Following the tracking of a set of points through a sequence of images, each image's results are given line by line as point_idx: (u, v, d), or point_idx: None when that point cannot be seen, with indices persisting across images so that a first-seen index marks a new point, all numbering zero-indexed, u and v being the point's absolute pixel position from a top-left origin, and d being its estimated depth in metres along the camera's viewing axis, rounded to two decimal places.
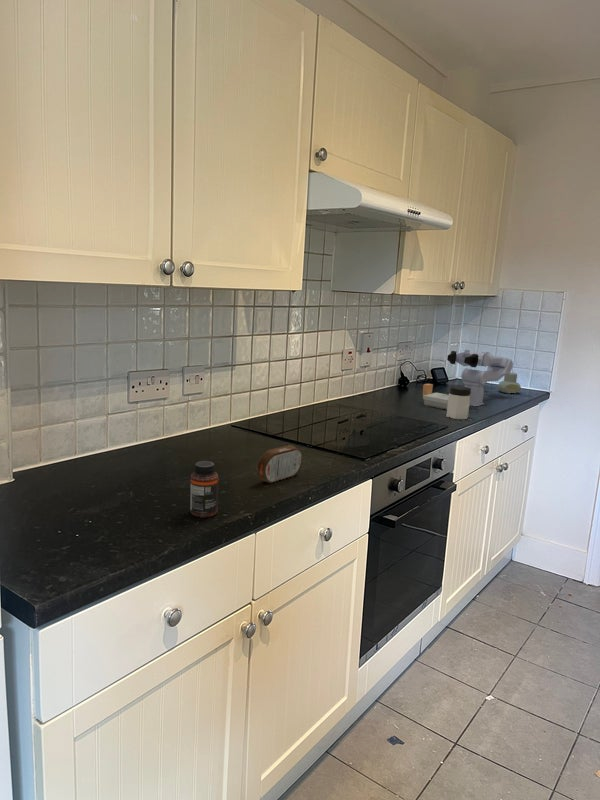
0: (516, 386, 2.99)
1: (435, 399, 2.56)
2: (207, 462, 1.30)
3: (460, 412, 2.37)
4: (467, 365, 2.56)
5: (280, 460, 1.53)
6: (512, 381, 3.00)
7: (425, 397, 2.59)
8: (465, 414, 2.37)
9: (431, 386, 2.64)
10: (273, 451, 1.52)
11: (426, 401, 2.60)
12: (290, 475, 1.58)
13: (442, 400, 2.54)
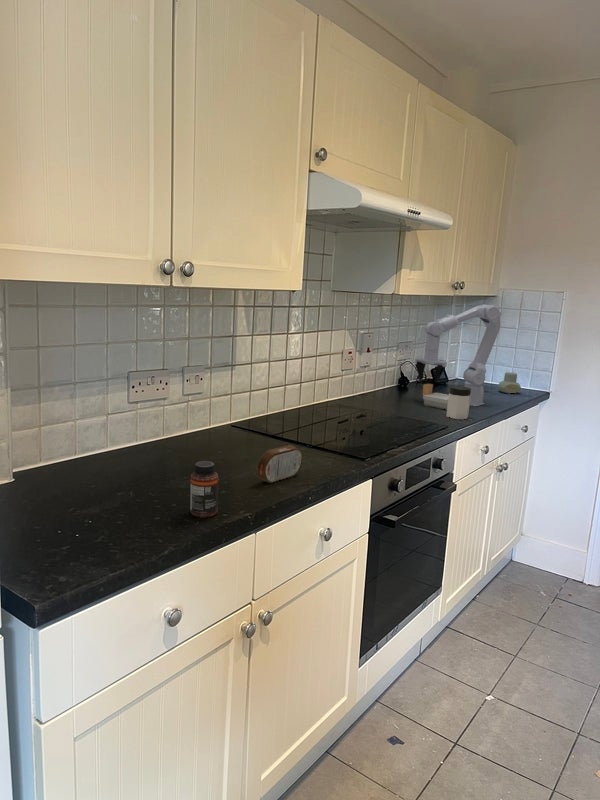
0: (516, 386, 2.99)
1: (435, 399, 2.56)
2: (207, 462, 1.30)
3: (460, 412, 2.37)
4: None
5: (280, 460, 1.53)
6: (512, 381, 3.00)
7: (425, 397, 2.59)
8: (465, 414, 2.37)
9: (431, 386, 2.64)
10: (273, 451, 1.52)
11: (426, 401, 2.60)
12: (290, 475, 1.58)
13: (442, 400, 2.54)
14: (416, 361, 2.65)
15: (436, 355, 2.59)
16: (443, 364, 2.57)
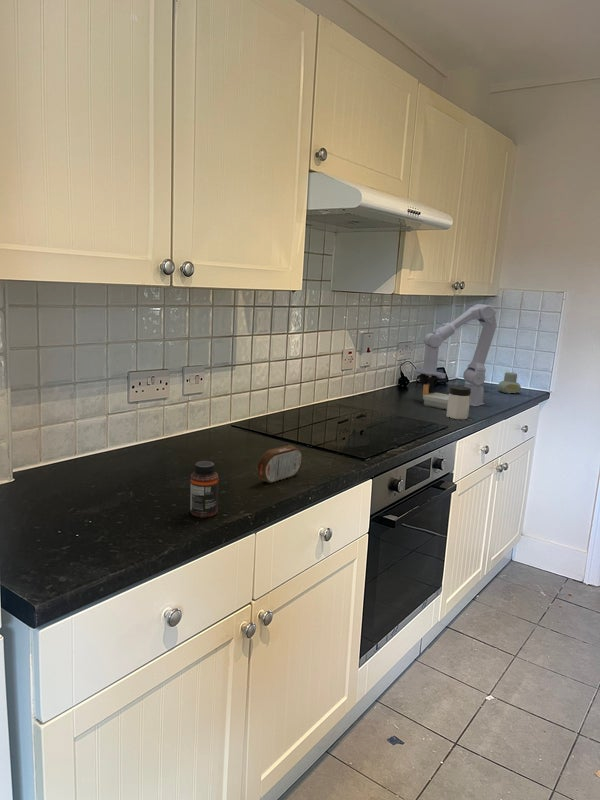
0: (516, 386, 2.99)
1: (435, 399, 2.56)
2: (207, 462, 1.30)
3: (460, 412, 2.37)
4: None
5: (280, 460, 1.53)
6: (512, 381, 3.00)
7: (425, 397, 2.59)
8: (465, 414, 2.37)
9: None
10: (273, 451, 1.52)
11: (426, 401, 2.60)
12: (290, 475, 1.58)
13: (442, 400, 2.54)
14: (415, 372, 2.66)
15: (435, 366, 2.60)
16: (442, 375, 2.58)
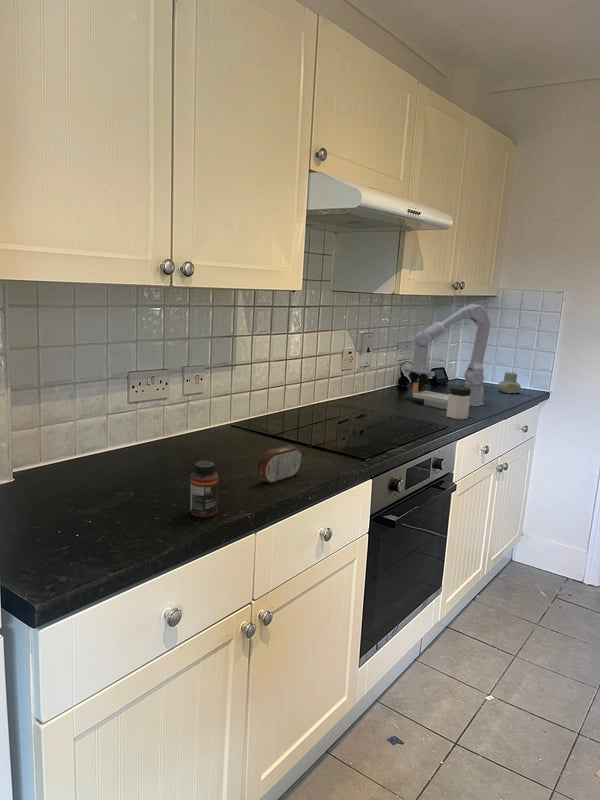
0: (516, 386, 2.99)
1: (424, 397, 2.59)
2: (207, 462, 1.30)
3: (460, 412, 2.37)
4: None
5: (280, 460, 1.53)
6: (512, 381, 3.00)
7: (415, 395, 2.62)
8: (465, 414, 2.37)
9: None
10: (273, 451, 1.52)
11: (426, 401, 2.60)
12: (290, 475, 1.58)
13: (431, 398, 2.57)
14: (405, 370, 2.69)
15: (424, 365, 2.63)
16: (431, 374, 2.61)
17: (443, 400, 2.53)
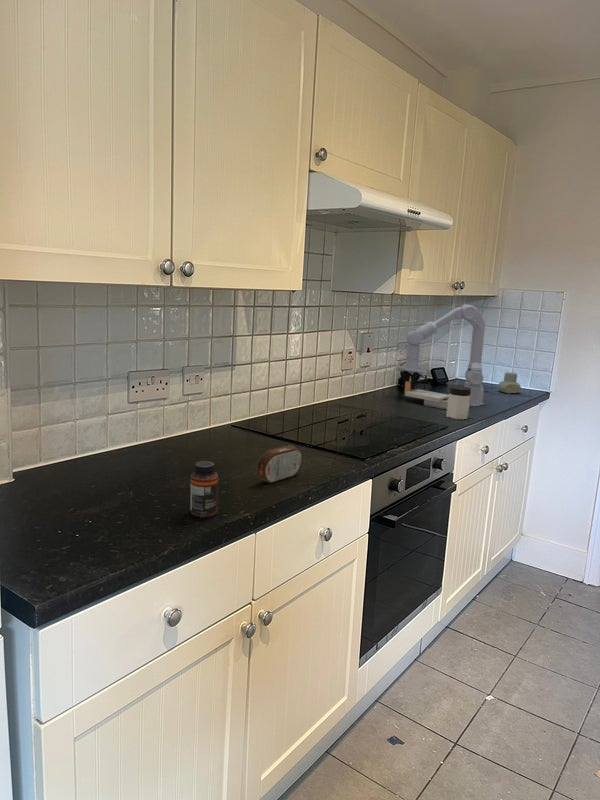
0: (516, 386, 2.99)
1: (416, 395, 2.61)
2: (207, 462, 1.30)
3: (460, 412, 2.37)
4: None
5: (280, 460, 1.53)
6: (512, 381, 3.00)
7: (407, 393, 2.64)
8: (465, 414, 2.37)
9: None
10: (273, 451, 1.52)
11: (426, 401, 2.60)
12: (290, 475, 1.58)
13: (423, 396, 2.59)
14: (397, 369, 2.72)
15: (416, 363, 2.65)
16: (423, 372, 2.63)
17: (435, 398, 2.56)
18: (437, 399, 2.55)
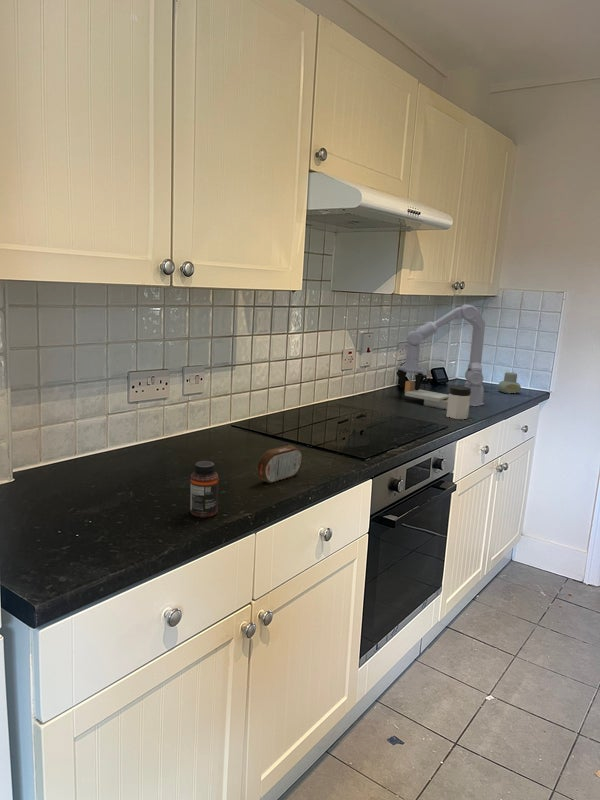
0: (516, 386, 2.99)
1: (416, 395, 2.61)
2: (207, 462, 1.30)
3: (460, 412, 2.37)
4: None
5: (280, 460, 1.53)
6: (512, 381, 3.00)
7: (407, 393, 2.64)
8: (465, 414, 2.37)
9: (413, 383, 2.69)
10: (273, 451, 1.52)
11: (426, 401, 2.60)
12: (290, 475, 1.58)
13: (423, 396, 2.59)
14: (397, 369, 2.72)
15: (416, 363, 2.65)
16: (423, 372, 2.63)
17: (435, 398, 2.56)
18: (437, 399, 2.55)
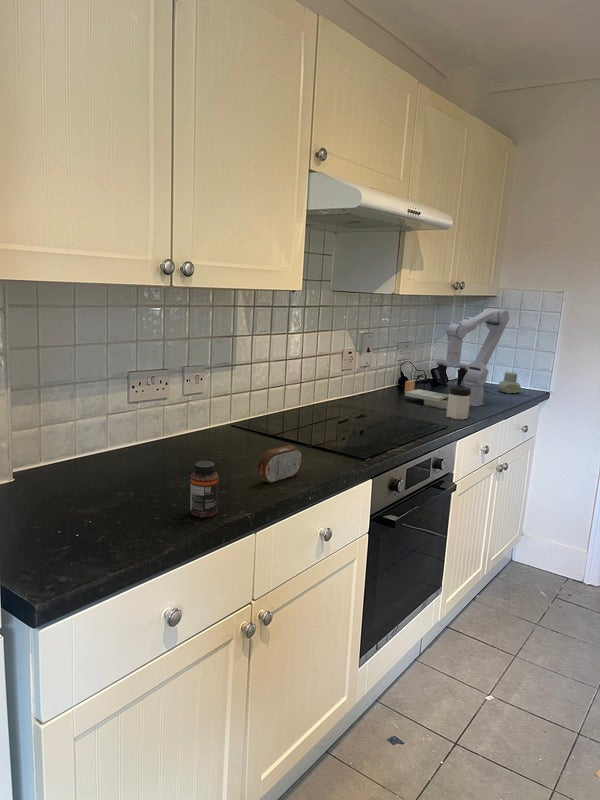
0: (516, 386, 2.99)
1: (416, 395, 2.61)
2: (207, 462, 1.30)
3: (460, 412, 2.37)
4: None
5: (280, 460, 1.53)
6: (512, 381, 3.00)
7: (407, 393, 2.64)
8: (465, 414, 2.37)
9: (413, 383, 2.69)
10: (273, 451, 1.52)
11: (426, 401, 2.60)
12: (290, 475, 1.58)
13: (423, 396, 2.59)
14: (438, 364, 2.60)
15: (459, 358, 2.54)
16: (466, 367, 2.52)
17: (435, 398, 2.56)
18: (437, 399, 2.55)
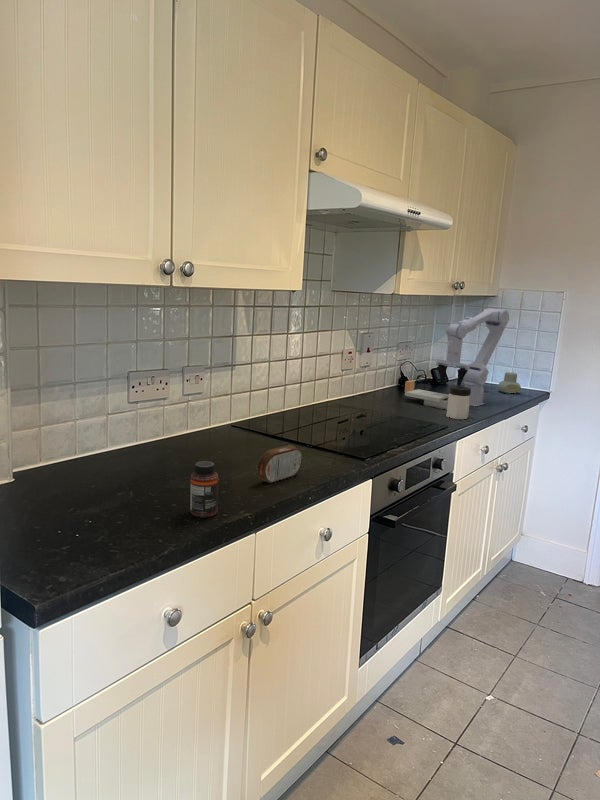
0: (516, 386, 2.99)
1: (416, 395, 2.61)
2: (207, 462, 1.30)
3: (460, 412, 2.37)
4: None
5: (280, 460, 1.53)
6: (512, 381, 3.00)
7: (407, 393, 2.64)
8: (465, 414, 2.37)
9: (413, 383, 2.69)
10: (273, 451, 1.52)
11: (426, 401, 2.60)
12: (290, 475, 1.58)
13: (423, 396, 2.59)
14: (438, 364, 2.60)
15: (459, 358, 2.54)
16: (466, 367, 2.52)
17: (435, 398, 2.56)
18: (437, 399, 2.55)
